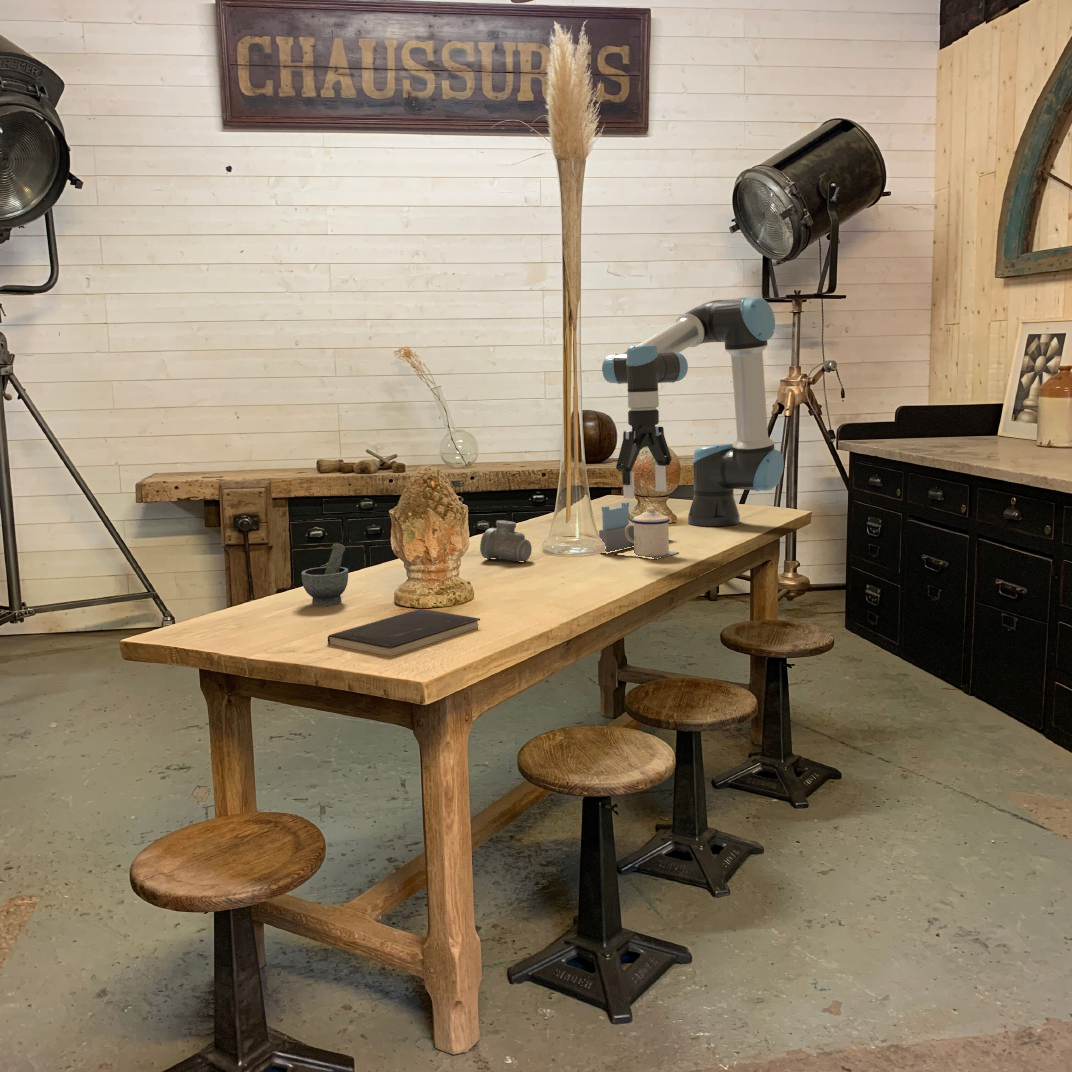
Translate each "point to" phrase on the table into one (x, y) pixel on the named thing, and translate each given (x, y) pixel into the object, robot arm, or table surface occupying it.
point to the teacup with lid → (650, 534)
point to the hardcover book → (403, 632)
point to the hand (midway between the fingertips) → (645, 494)
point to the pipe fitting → (505, 543)
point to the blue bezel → (615, 516)
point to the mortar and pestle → (327, 580)
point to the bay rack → (620, 539)
